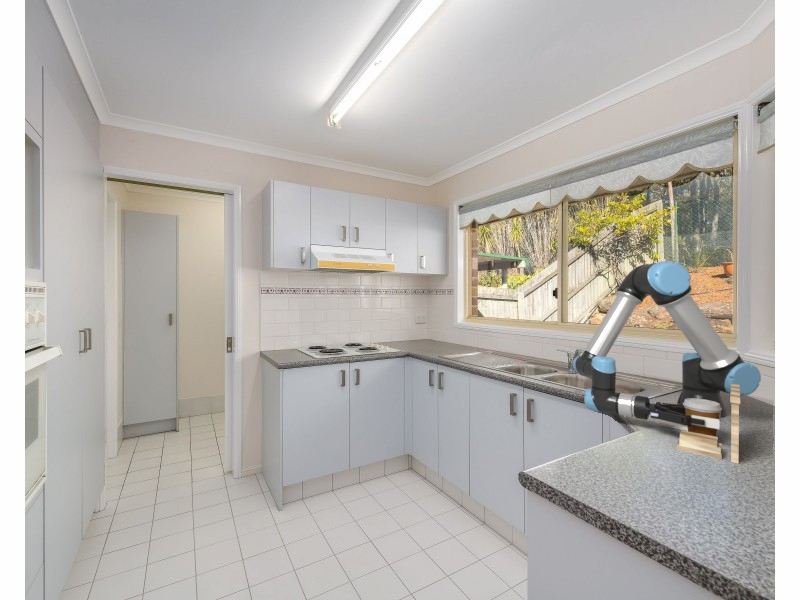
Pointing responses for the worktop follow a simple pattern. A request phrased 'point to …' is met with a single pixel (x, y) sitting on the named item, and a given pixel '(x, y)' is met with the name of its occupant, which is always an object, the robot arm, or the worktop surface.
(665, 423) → the white square coaster
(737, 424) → the pine panel
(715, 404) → the disposable coffee cup
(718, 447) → the offcut stack
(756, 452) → the worktop surface
